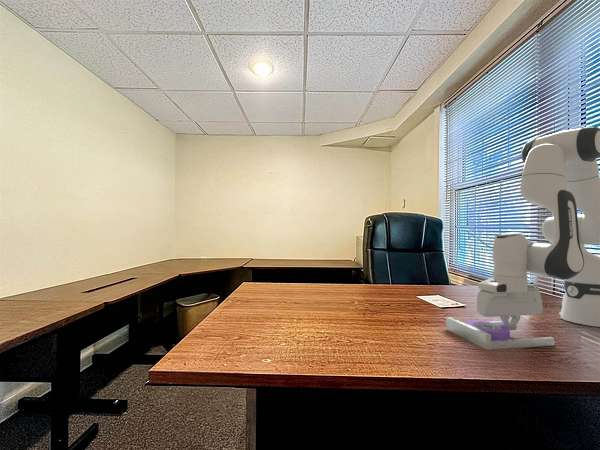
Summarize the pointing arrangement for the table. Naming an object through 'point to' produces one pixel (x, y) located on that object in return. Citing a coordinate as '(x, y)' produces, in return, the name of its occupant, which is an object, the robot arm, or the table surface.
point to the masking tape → (492, 329)
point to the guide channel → (485, 338)
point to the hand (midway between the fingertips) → (510, 329)
